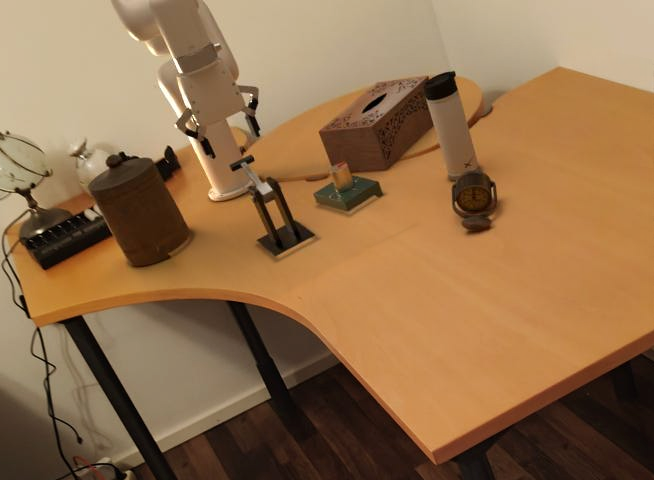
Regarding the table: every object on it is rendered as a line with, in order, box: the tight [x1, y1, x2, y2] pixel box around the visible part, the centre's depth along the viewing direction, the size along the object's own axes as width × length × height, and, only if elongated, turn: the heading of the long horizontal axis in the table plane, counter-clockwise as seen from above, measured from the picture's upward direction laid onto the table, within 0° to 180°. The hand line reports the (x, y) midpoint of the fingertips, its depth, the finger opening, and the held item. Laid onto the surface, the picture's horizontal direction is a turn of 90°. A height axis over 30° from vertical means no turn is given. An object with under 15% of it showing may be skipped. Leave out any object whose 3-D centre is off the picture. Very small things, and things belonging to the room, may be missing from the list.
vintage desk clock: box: [450, 170, 498, 232], centre depth 151 cm, size 7×13×10 cm
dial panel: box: [312, 174, 384, 212], centre depth 175 cm, size 12×9×3 cm
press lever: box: [229, 153, 275, 205], centre depth 165 cm, size 12×5×2 cm, turn 29°
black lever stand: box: [247, 175, 316, 257], centre depth 165 cm, size 11×9×13 cm
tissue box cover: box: [318, 75, 434, 173], centre depth 193 cm, size 26×14×10 cm, turn 150°
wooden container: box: [87, 154, 191, 267], centre depth 180 cm, size 15×15×22 cm
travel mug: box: [423, 70, 480, 182], centre depth 164 cm, size 6×7×20 cm
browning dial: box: [328, 162, 354, 192], centre depth 173 cm, size 4×4×5 cm
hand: (234, 146), depth 165 cm, fingers open, 9 cm apart
